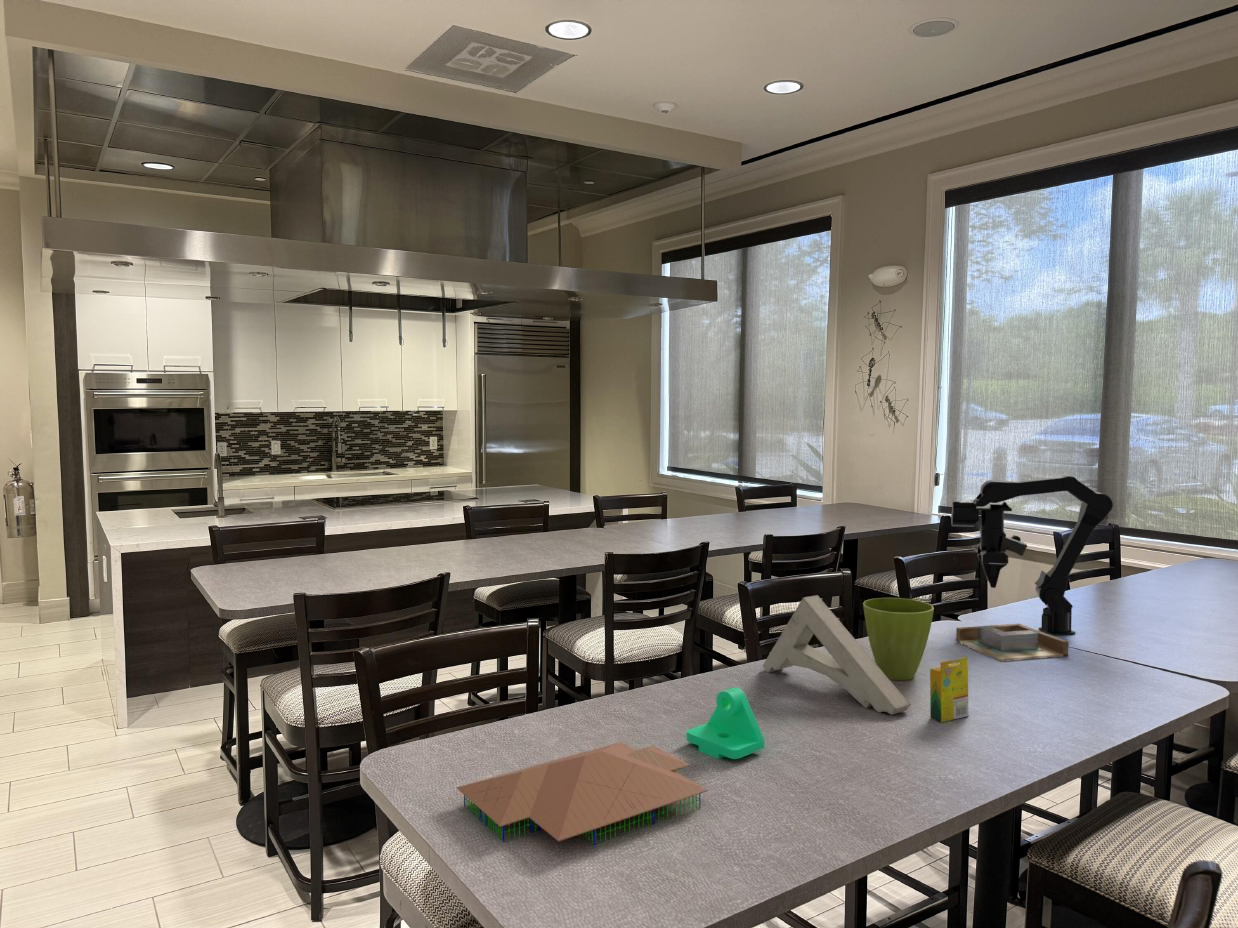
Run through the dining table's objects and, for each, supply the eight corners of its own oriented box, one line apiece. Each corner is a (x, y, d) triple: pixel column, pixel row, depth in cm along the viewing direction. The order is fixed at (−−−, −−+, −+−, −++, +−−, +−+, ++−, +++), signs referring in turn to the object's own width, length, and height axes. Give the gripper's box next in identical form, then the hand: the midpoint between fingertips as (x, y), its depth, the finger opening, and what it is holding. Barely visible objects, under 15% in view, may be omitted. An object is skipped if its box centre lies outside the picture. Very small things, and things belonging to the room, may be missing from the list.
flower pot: (947, 677, 186) (948, 606, 185) (904, 690, 177) (905, 615, 176) (891, 661, 198) (891, 594, 197) (848, 673, 190) (849, 603, 189)
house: (722, 806, 127) (722, 753, 126) (528, 875, 108) (527, 813, 108) (634, 756, 146) (634, 710, 145) (456, 808, 127) (455, 755, 127)
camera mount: (684, 745, 149) (683, 688, 149) (713, 734, 154) (713, 679, 154) (735, 766, 140) (734, 706, 140) (764, 754, 145) (764, 695, 145)
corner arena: (1018, 637, 218) (1018, 623, 218) (1068, 656, 201) (1068, 641, 200) (956, 641, 215) (956, 627, 215) (1001, 661, 197) (1001, 646, 197)
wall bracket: (844, 777, 173) (762, 665, 192) (858, 772, 175) (776, 662, 195) (895, 708, 161) (803, 597, 181) (910, 704, 164) (817, 594, 183)
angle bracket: (1001, 651, 202) (1001, 635, 202) (978, 642, 211) (978, 626, 211) (1037, 649, 204) (1038, 633, 204) (1013, 639, 213) (1013, 624, 213)
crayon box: (957, 711, 164) (957, 653, 164) (969, 716, 162) (970, 657, 161) (929, 718, 161) (929, 658, 160) (941, 722, 158) (941, 662, 158)
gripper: (1030, 532, 215) (1029, 592, 216) (1020, 523, 233) (1019, 579, 234) (983, 531, 219) (982, 590, 219) (976, 522, 236) (976, 577, 237)
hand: (991, 584), depth 227 cm, fingers open, 9 cm apart
